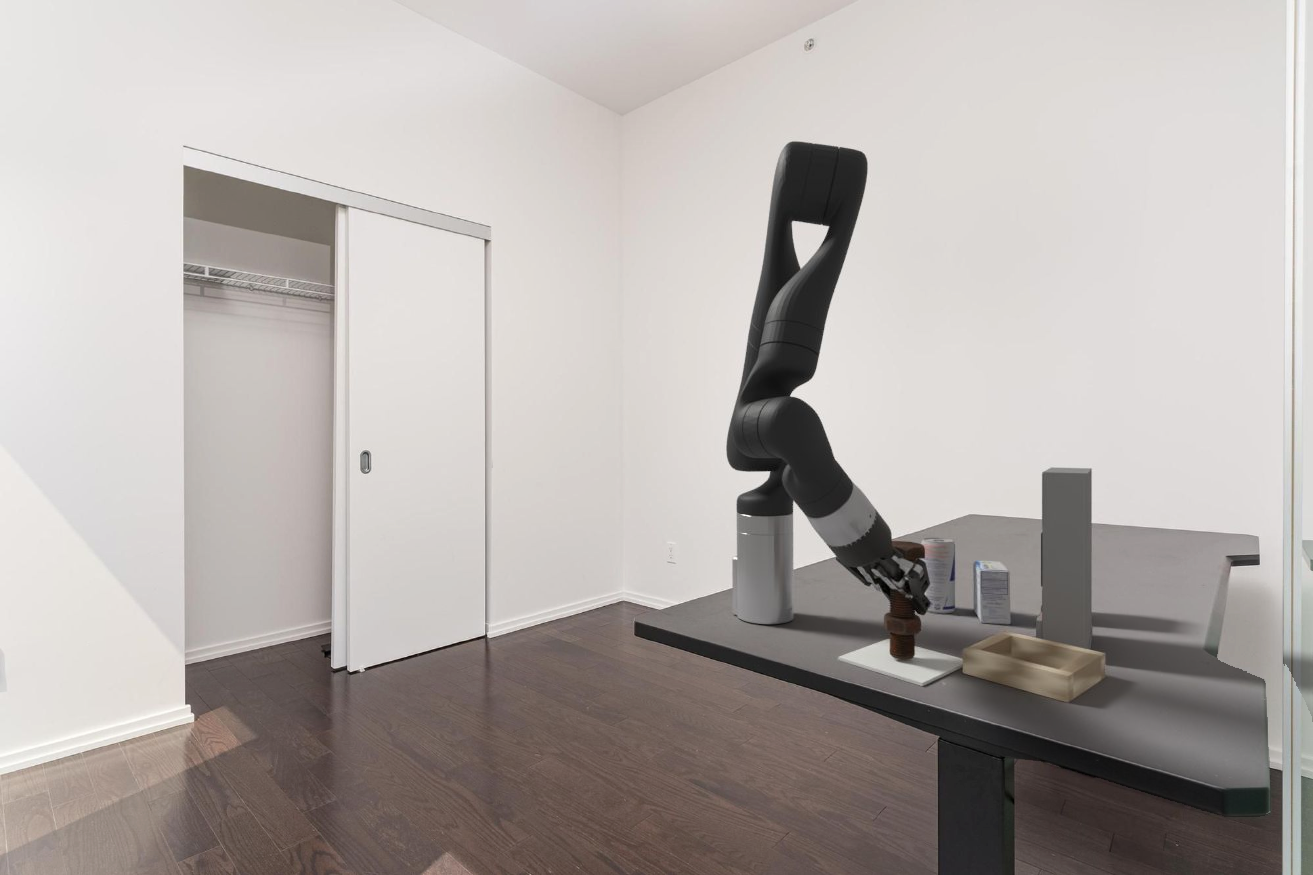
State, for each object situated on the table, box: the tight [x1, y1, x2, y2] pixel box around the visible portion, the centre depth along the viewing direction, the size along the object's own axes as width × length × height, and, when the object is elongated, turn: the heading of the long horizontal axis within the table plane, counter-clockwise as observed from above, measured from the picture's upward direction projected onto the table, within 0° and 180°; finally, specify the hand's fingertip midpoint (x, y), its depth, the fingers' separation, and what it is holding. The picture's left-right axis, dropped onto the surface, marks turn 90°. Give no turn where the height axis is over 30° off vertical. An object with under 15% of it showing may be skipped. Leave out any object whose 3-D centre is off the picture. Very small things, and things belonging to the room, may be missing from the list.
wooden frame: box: [962, 630, 1106, 704], centre depth 83 cm, size 12×12×3 cm
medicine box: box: [972, 560, 1011, 626], centre depth 109 cm, size 8×4×9 cm, turn 162°
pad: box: [837, 638, 963, 687], centre depth 88 cm, size 12×12×1 cm
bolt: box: [883, 540, 925, 659], centre depth 88 cm, size 6×5×15 cm
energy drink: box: [920, 537, 956, 615], centre depth 114 cm, size 5×5×12 cm
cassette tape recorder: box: [1035, 467, 1094, 650], centre depth 95 cm, size 14×6×25 cm, turn 145°
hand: (912, 605), depth 89 cm, fingers closed on bolt, 3 cm apart
